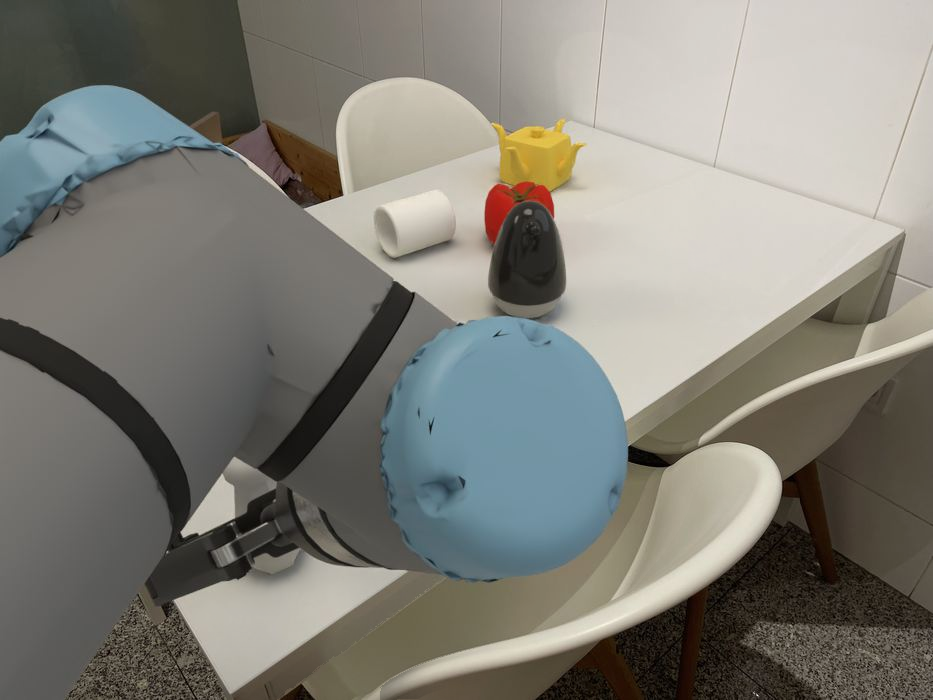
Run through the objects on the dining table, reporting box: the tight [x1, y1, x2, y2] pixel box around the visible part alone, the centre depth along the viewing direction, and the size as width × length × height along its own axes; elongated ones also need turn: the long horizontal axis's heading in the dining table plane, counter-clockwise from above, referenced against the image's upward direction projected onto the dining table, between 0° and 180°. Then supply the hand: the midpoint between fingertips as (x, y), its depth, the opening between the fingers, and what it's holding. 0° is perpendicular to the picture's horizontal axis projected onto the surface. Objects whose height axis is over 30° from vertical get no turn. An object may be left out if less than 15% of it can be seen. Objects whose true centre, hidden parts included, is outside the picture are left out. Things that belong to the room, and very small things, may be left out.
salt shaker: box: [222, 457, 302, 576], centre depth 58 cm, size 6×6×13 cm
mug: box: [373, 189, 457, 259], centre depth 107 cm, size 12×10×8 cm
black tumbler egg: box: [487, 201, 567, 319], centre depth 89 cm, size 10×10×15 cm
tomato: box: [483, 181, 555, 246], centre depth 106 cm, size 11×12×9 cm
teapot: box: [490, 118, 588, 193], centre depth 126 cm, size 15×14×10 cm
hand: (284, 506), depth 51 cm, fingers open, 13 cm apart
